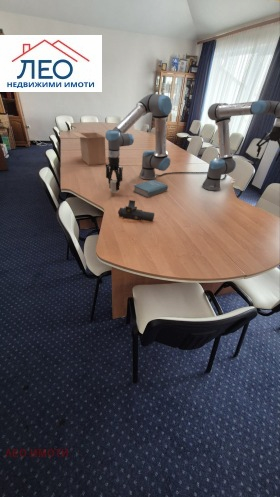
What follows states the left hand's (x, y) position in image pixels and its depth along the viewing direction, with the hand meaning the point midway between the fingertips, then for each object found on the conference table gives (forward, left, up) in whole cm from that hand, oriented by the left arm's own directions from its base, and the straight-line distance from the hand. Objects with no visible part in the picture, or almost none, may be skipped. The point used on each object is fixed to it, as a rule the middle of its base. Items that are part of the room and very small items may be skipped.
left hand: (114, 188), depth 166 cm
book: (-29, -8, -5) cm, 31 cm away
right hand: (-112, +1, +26) cm, 115 cm away
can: (0, 0, -2) cm, 2 cm away
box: (+22, -89, -5) cm, 92 cm away
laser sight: (-13, +38, -5) cm, 40 cm away
